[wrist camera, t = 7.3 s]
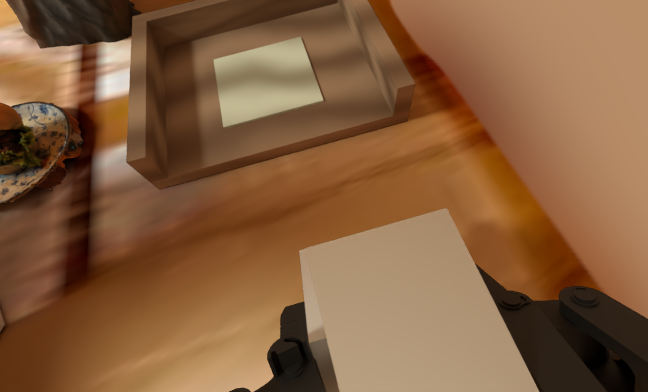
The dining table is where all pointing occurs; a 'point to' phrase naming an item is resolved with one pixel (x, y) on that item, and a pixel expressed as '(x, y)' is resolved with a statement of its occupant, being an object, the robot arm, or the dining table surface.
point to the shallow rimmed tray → (256, 83)
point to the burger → (35, 147)
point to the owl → (75, 20)
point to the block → (412, 312)
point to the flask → (1, 321)
